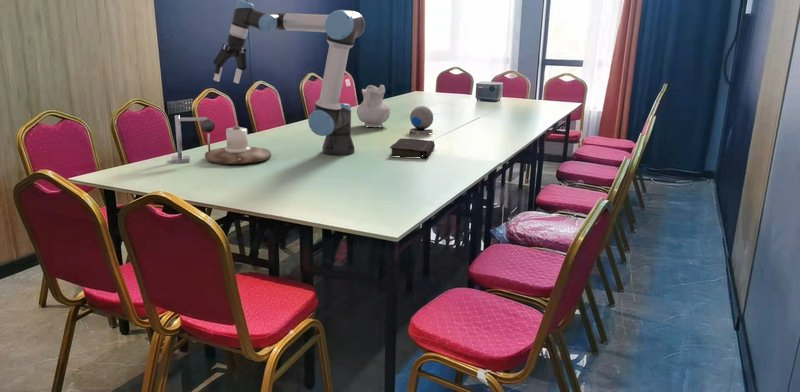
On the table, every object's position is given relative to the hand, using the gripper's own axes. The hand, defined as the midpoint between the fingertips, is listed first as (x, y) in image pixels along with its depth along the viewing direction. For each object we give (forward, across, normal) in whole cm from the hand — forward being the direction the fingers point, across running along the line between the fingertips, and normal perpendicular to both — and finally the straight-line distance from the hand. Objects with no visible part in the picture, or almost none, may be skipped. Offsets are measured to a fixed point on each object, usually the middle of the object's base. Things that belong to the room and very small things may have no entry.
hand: (226, 82), depth 272 cm
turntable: (+28, +9, +23) cm, 38 cm away
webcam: (+3, -93, +64) cm, 113 cm away
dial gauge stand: (+33, +21, +10) cm, 41 cm away
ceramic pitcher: (+10, -96, +33) cm, 102 cm away
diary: (+7, -41, +82) cm, 92 cm away
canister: (+26, +6, +20) cm, 33 cm away
